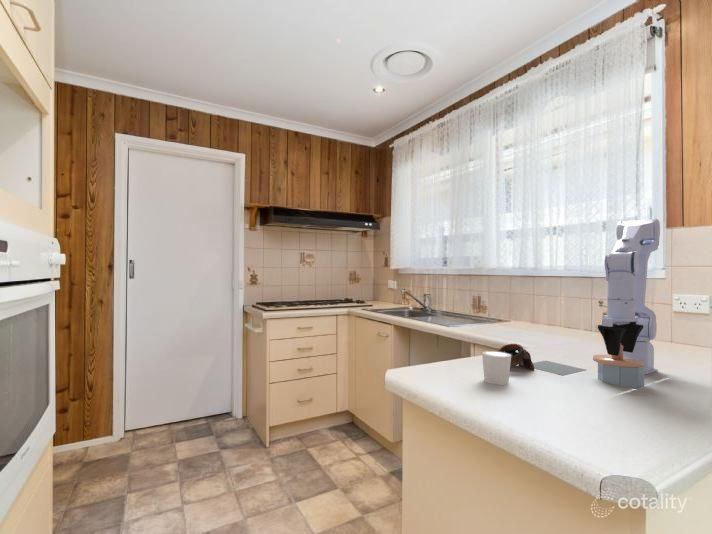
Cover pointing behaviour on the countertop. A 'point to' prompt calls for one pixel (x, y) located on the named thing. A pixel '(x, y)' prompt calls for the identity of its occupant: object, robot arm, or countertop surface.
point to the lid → (618, 360)
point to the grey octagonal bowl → (621, 375)
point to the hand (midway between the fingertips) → (620, 353)
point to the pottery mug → (518, 355)
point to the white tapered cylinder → (496, 367)
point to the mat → (556, 368)
